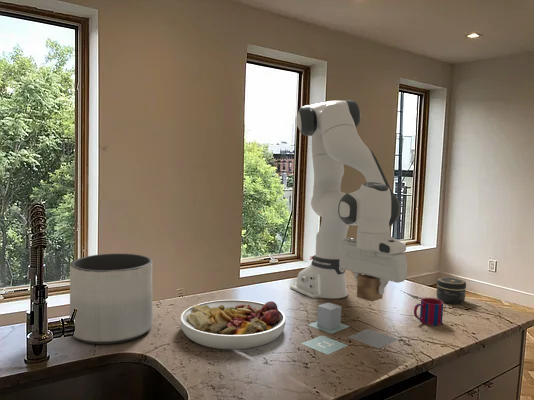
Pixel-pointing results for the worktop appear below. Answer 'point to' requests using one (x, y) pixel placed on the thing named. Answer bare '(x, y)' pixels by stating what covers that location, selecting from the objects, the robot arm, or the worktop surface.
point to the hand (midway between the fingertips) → (370, 291)
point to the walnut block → (368, 288)
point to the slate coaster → (372, 338)
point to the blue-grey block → (329, 316)
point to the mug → (430, 311)
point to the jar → (451, 290)
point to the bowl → (233, 323)
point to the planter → (111, 297)
